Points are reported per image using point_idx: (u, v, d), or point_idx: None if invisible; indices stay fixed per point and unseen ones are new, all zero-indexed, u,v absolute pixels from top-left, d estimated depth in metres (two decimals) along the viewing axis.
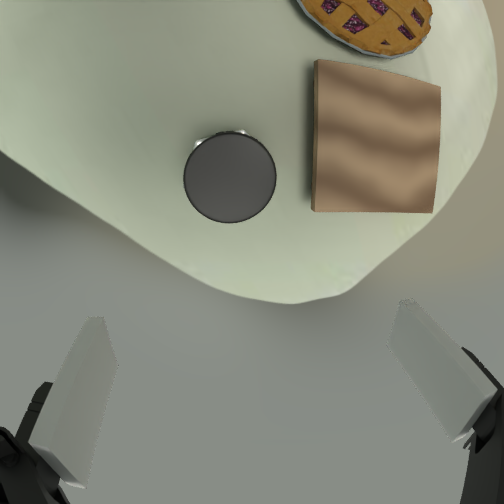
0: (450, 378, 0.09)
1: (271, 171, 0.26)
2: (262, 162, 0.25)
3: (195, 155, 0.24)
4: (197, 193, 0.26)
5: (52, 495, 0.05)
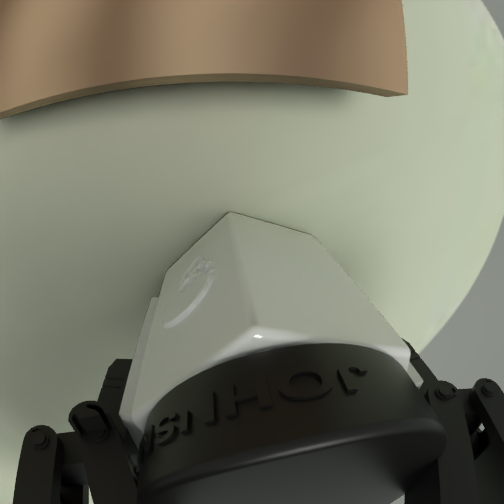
0: None
1: (296, 461, 0.04)
2: (247, 485, 0.04)
3: None
4: None
5: None
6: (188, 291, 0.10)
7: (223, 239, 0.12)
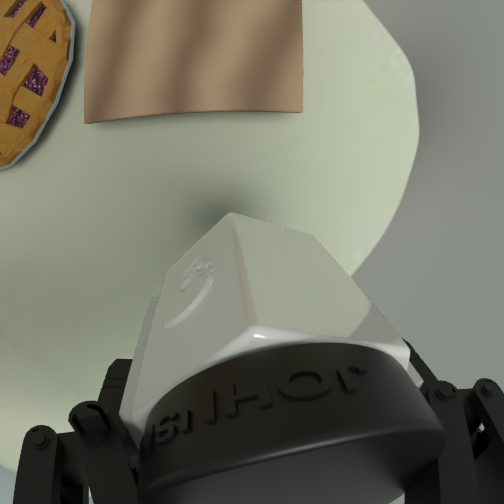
0: None
1: (296, 460, 0.04)
2: (247, 484, 0.04)
3: None
4: None
5: None
6: (188, 291, 0.10)
7: (223, 239, 0.12)
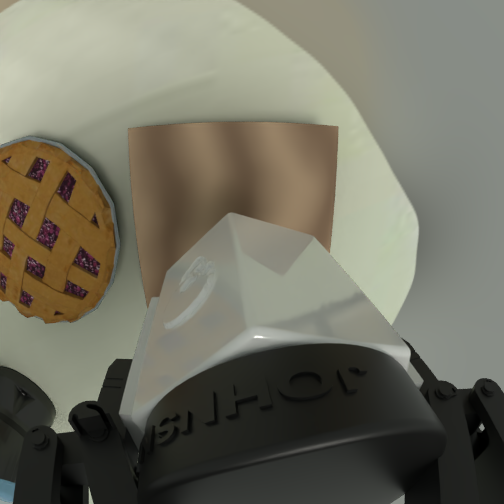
0: None
1: (296, 461, 0.04)
2: (247, 485, 0.04)
3: None
4: None
5: None
6: (188, 291, 0.10)
7: (223, 239, 0.12)
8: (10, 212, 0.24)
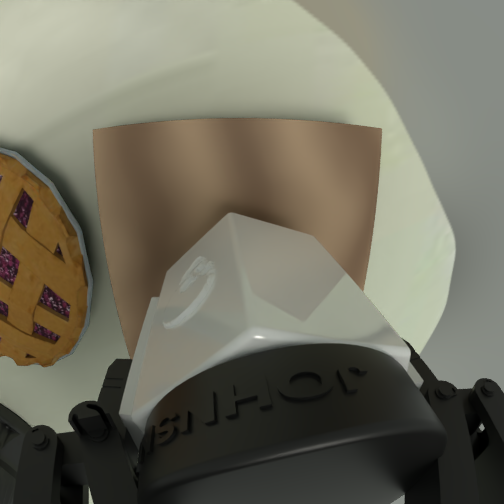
0: None
1: (296, 461, 0.04)
2: (247, 485, 0.04)
3: None
4: None
5: None
6: (188, 292, 0.10)
7: (223, 239, 0.12)
8: None
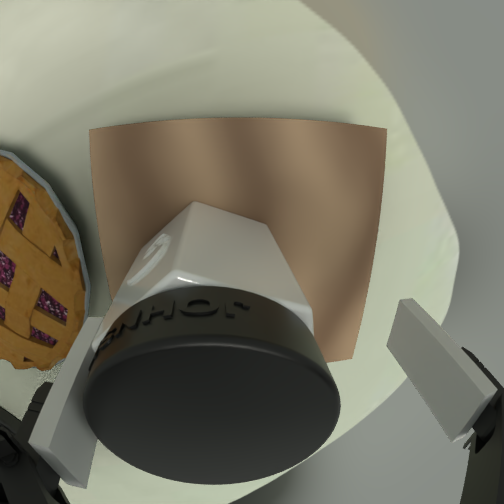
0: (450, 378, 0.09)
1: (180, 355, 0.06)
2: (151, 378, 0.07)
3: (158, 473, 0.09)
4: (246, 473, 0.09)
5: (52, 495, 0.05)
6: (147, 257, 0.12)
7: (181, 220, 0.14)
8: None
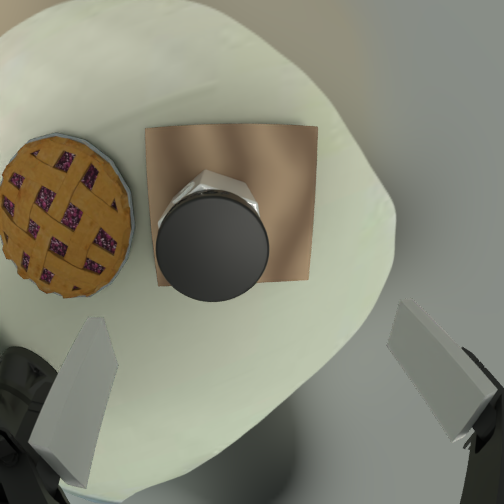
0: (450, 378, 0.09)
1: (203, 203, 0.20)
2: (191, 214, 0.20)
3: (183, 289, 0.22)
4: (228, 289, 0.22)
5: (52, 495, 0.05)
6: (183, 190, 0.26)
7: (199, 176, 0.28)
8: (37, 198, 0.30)
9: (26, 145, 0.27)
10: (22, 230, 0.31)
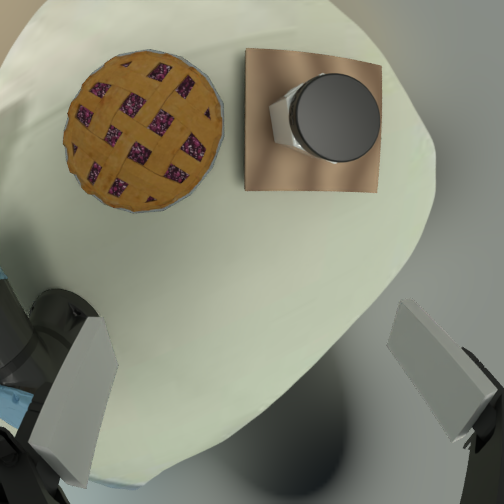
0: (450, 378, 0.09)
1: (336, 77, 0.22)
2: (327, 84, 0.22)
3: (315, 147, 0.24)
4: (350, 150, 0.24)
5: (52, 495, 0.05)
6: None
7: None
8: (122, 106, 0.32)
9: (116, 57, 0.29)
10: (98, 138, 0.33)
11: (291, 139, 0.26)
